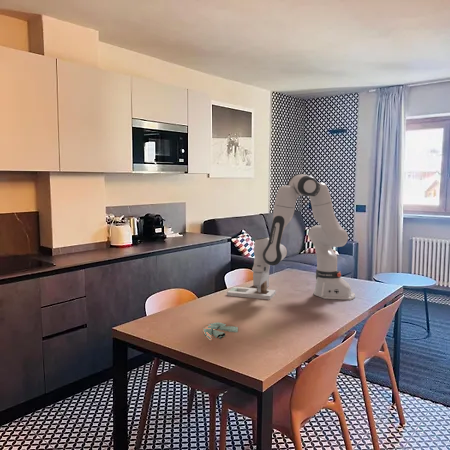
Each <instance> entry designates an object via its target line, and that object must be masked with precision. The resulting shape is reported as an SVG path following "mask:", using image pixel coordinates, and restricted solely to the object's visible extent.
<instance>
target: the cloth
mask: <svg viewBox="0 0 450 450" xmlns="http://www.w3.org/2000/svg"><path fill="white" fill-rule="evenodd" d="M209 325H211V326H208V328H211V329H204V328H203V329H204V332H205V335H206V336H207V334H206V332H208V333H209V334H210V335H212V334H213V335H214V336H215V337H214V336H213V335H212V336H213V337H214V338H216V339H217V338H218V337H219V338H218V339H220V340H222V337H223V338H224V337H225V336H226V333H225V332H229V333H238V332H239V331H238V330H239V327H238V326H231V325H230V326H226V325H227V324H226V323H223V322H213V323H212V322H211V323H210V324H209ZM213 329H217V330H213ZM218 329H220V330H218ZM223 330H224V331H223ZM205 335H204V336H205ZM221 335H222V336H221ZM217 336H218V337H217ZM207 337H208V338H209V339H211V338H210V337H209V336H207Z"/></svg>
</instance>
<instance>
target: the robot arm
mask: <svg viewBox="0 0 450 450" xmlns="http://www.w3.org/2000/svg"><path fill="white" fill-rule="evenodd" d="M299 196H306V197H309V199H310V205H311V210H312V216H313V219H314V220H315V221H316V222H317V223H318V224H317V225H313V226H311V227H310V228H309V230H308V238H309V240H310V241H311V242H312V244H313V247H314V250H315V254H316V269H315V279H316V281H315V288H314V291H313V295H314V296H316V297H318V298H321V299H325V300H346V301H348V300H350V301H351V300H354V299H355V298H356V294H355V292H353V291H352V290H351V289H352V288H351V285H350V283H349V282H348V281H346V280H345V279H343V278H342V272H341V270H338V255H337V254H336V253H335V252H334V250H333V248H340V247H344V246H345V245H346V244H347V242H348V240H349V234H348V232H347V230H345V229H344V228H343V227H342V226H341V225H340V223H339V221H338V219H337V217H336V215H335V211H334V207H333V203H332V202H333V201H332V197H331V193H330V190H329V188H328V186H327V184H326V183H324V182H318V181H317V179H316V178H315V177H313V176H312V175H308V174H305V173H304V174H301V173H297V174H294V175H293V176H292V177H291V178H290V179H289V181H288V182H287V184H286V185H281V186H280V187H279V189H278V191H277V193H276V198H275V201H274V205H273V206H274V207H273V214H272V215H273V216H272V222H271V223H272V224H271V228H270V234H269V237H268V236H262V237H257V238H256V239H255V240H254V246H253V255H254V259H253V266H252V269H251V272H253V273H252V281H253V283H254V285H255V286H254V285H253V286H254V287H256V286H257V287H256V288H257V289H258V292H259V293H260V292H261V285H262V284H263V283H264V282H265V281H267V280H268V279H269V280H270V269H271V266H276V265H279V263H280V262H281V261H283V260H284V259H285V258H286V256H288V255H287V254H288V250H287V247H286V246H285V244H282V243H281V242H282V237H283V235H284V234H283V233H284V230H285V228H286V227H287V226H288V224H289V223H290V222H291V221H292V219H293V216H294V214H295V209H296V203H297V199H298V198H299Z"/></svg>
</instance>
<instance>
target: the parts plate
mask: <svg viewBox="0 0 450 450" xmlns="http://www.w3.org/2000/svg"><path fill="white" fill-rule="evenodd" d="M276 294H277V290H276V289H267V294H259V293H257V287H255V288H254V287H242V286H233V287H232V288H230V289H229V290H228V291H227V292H226V296H228V297H229V296H231V297H239V298H247V299H248V298H249V299H260V300H268V301H269V300H272V299H273V297H274V296H275V295H276Z"/></svg>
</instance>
